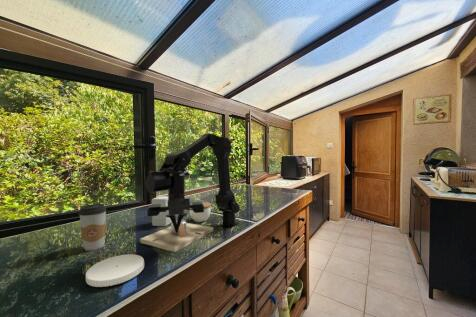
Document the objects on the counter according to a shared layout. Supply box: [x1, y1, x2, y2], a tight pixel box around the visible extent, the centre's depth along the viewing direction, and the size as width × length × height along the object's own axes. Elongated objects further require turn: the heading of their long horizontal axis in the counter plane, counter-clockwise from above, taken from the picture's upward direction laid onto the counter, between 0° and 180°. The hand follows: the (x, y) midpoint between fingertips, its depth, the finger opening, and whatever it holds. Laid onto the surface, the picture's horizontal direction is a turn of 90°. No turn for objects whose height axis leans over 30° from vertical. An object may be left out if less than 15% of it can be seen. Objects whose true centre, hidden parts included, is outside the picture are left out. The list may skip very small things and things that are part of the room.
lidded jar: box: [189, 200, 212, 223], centre depth 108 cm, size 11×11×9 cm
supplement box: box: [151, 195, 171, 227], centre depth 103 cm, size 7×7×13 cm
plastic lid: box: [85, 253, 145, 288], centre depth 60 cm, size 14×14×2 cm
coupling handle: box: [170, 219, 187, 237], centre depth 82 cm, size 15×6×4 cm, turn 22°
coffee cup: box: [78, 203, 107, 252], centre depth 78 cm, size 8×8×15 cm
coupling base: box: [139, 222, 214, 253], centre depth 86 cm, size 22×18×2 cm
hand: (176, 232), depth 77 cm, fingers closed
